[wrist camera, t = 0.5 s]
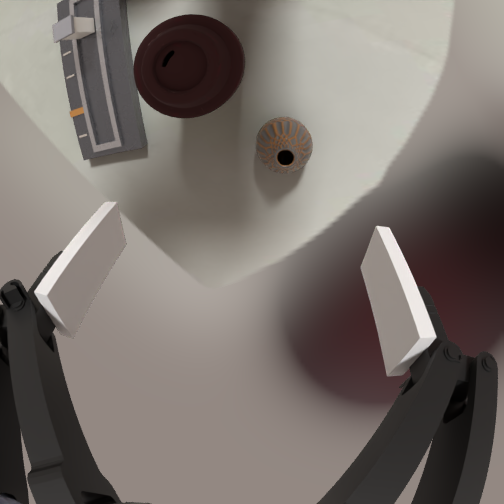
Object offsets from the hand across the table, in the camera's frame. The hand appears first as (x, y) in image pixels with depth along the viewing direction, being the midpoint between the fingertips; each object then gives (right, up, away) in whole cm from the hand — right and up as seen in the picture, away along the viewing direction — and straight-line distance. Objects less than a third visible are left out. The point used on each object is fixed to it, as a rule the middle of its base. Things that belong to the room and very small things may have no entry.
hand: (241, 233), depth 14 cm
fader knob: (-22, +30, +10) cm, 38 cm away
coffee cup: (-4, +23, +16) cm, 29 cm away
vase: (+5, +15, +22) cm, 27 cm away
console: (-21, +26, +16) cm, 37 cm away
